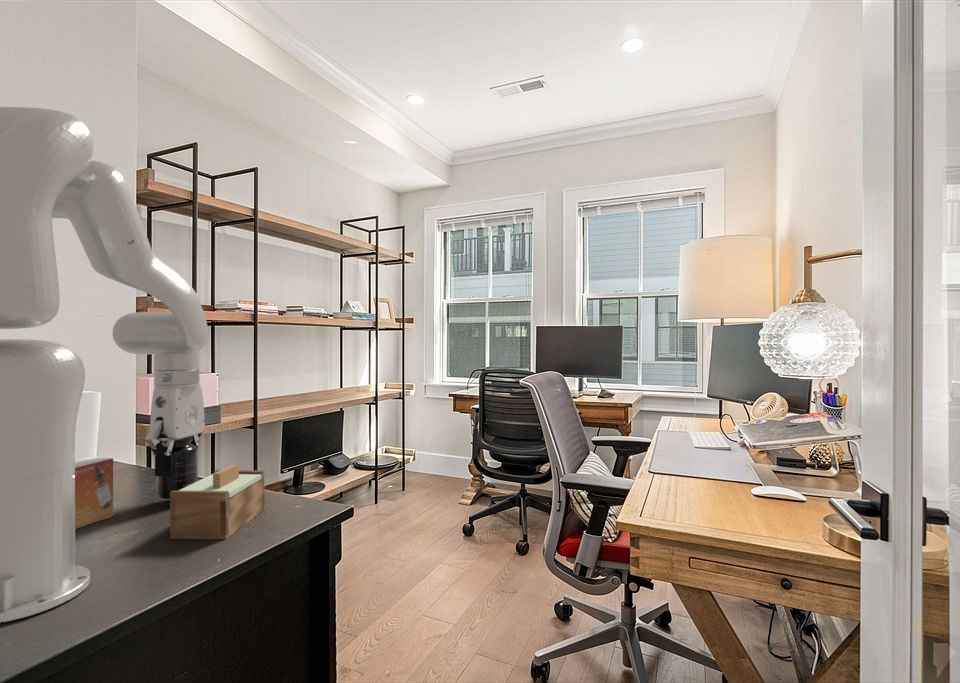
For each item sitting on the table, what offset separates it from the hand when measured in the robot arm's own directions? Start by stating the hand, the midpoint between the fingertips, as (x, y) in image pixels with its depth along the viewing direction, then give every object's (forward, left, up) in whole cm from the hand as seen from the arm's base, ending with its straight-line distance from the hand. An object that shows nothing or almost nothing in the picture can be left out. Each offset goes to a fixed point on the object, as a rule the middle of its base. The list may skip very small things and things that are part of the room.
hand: (177, 469), depth 95 cm
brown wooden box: (-10, -14, -6) cm, 19 cm away
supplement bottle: (0, 0, -5) cm, 5 cm away
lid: (-10, -15, 0) cm, 18 cm away
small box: (-11, +10, -7) cm, 16 cm away
